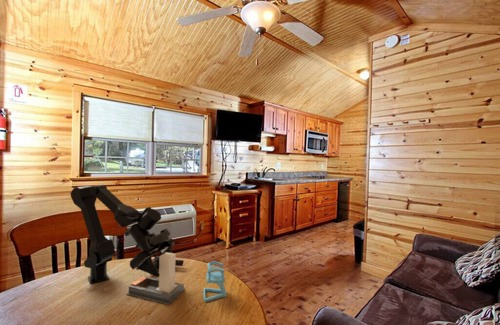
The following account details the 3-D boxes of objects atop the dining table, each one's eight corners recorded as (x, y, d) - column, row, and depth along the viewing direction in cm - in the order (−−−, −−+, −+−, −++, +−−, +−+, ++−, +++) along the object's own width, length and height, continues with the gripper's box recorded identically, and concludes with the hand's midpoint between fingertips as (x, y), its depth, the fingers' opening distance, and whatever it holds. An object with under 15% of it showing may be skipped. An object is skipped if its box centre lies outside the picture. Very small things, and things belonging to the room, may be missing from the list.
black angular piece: (191, 250, 120) (162, 248, 122) (175, 263, 101) (141, 260, 102) (190, 261, 120) (162, 259, 121) (174, 276, 100) (140, 273, 102)
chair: (227, 300, 86) (228, 266, 86) (203, 302, 85) (205, 268, 84) (224, 288, 94) (225, 258, 94) (203, 290, 92) (204, 259, 92)
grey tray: (126, 294, 88) (126, 286, 88) (146, 281, 97) (146, 274, 97) (168, 304, 82) (168, 296, 82) (184, 290, 92) (185, 282, 92)
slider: (155, 295, 87) (155, 256, 87) (164, 287, 92) (165, 251, 92) (169, 298, 85) (170, 259, 85) (178, 290, 90) (178, 253, 90)
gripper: (136, 230, 81) (164, 268, 78) (170, 218, 99) (194, 248, 96) (118, 251, 83) (143, 288, 80) (154, 235, 101) (176, 265, 98)
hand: (167, 270), depth 88 cm, fingers open, 9 cm apart
